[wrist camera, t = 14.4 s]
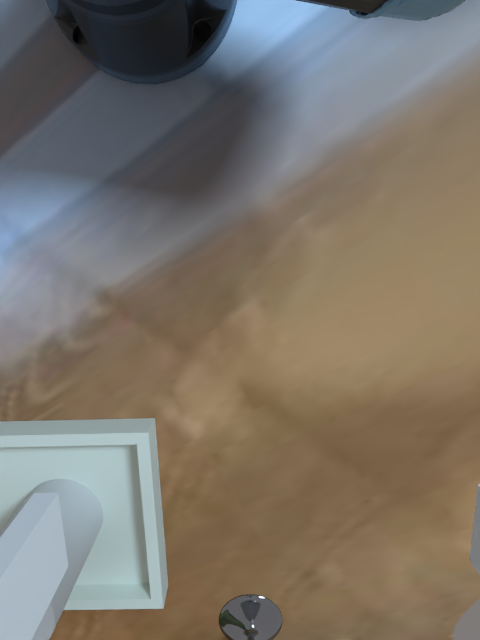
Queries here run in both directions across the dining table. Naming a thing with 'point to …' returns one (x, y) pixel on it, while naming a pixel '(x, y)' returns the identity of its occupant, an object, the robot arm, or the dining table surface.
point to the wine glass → (250, 618)
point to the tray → (111, 490)
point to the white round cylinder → (68, 540)
